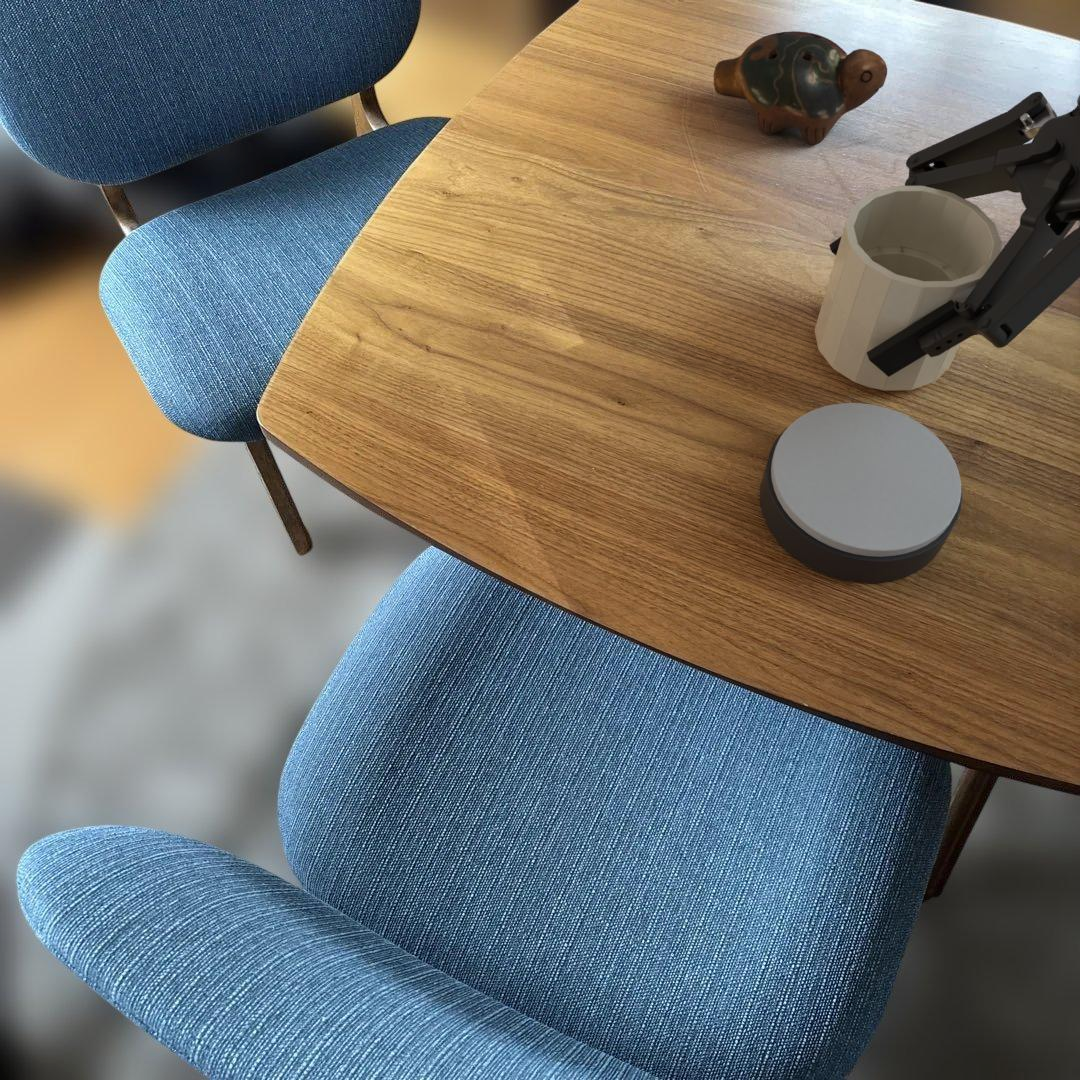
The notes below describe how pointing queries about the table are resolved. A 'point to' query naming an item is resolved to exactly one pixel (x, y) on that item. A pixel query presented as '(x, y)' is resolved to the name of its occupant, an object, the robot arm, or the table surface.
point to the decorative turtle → (800, 81)
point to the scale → (860, 492)
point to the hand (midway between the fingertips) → (857, 309)
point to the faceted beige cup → (900, 277)
